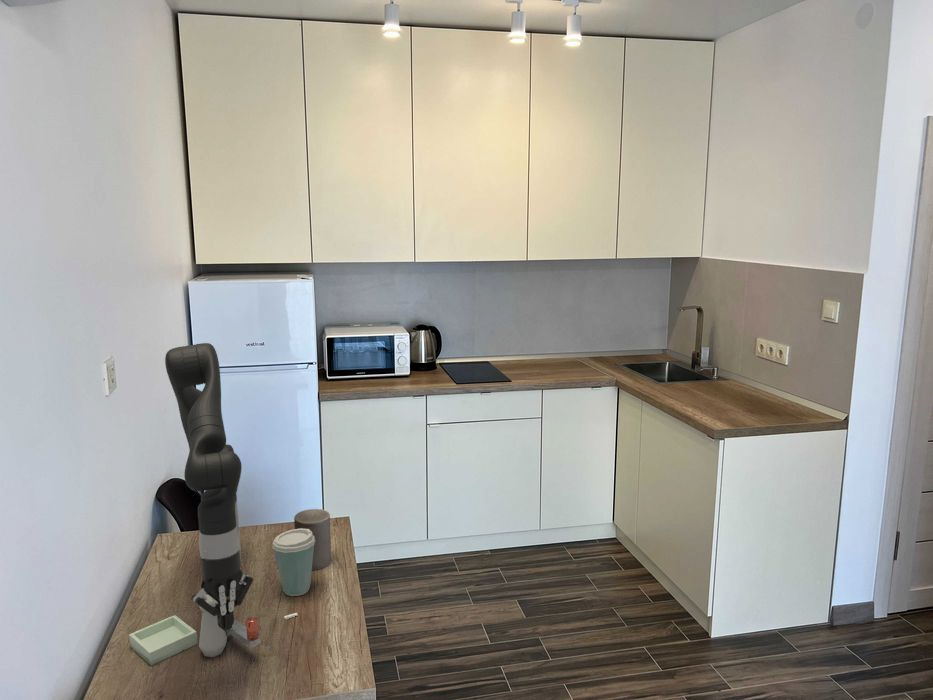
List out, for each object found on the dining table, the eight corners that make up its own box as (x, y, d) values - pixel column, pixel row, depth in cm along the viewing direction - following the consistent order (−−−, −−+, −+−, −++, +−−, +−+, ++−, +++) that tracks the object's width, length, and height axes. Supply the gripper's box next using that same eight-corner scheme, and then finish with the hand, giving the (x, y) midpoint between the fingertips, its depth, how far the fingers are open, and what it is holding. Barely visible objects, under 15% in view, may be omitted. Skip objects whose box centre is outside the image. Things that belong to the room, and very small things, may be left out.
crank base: (209, 637, 159) (209, 629, 159) (227, 628, 162) (226, 620, 162) (219, 644, 156) (218, 636, 156) (237, 636, 159) (236, 627, 159)
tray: (130, 646, 156) (129, 634, 155) (175, 626, 163) (174, 615, 163) (151, 665, 149) (149, 652, 148) (197, 643, 157) (196, 631, 156)
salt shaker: (218, 661, 150) (213, 605, 148) (194, 658, 151) (189, 602, 149) (232, 645, 156) (228, 591, 154) (209, 642, 157) (204, 589, 155)
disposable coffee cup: (276, 604, 173) (272, 547, 170) (273, 583, 183) (270, 529, 180) (320, 596, 176) (317, 540, 173) (315, 576, 186) (312, 523, 183)
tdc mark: (285, 619, 166) (285, 617, 166) (284, 618, 166) (284, 616, 166) (297, 616, 167) (297, 614, 167) (296, 614, 168) (296, 612, 168)
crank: (203, 621, 161) (200, 594, 160) (217, 615, 164) (215, 588, 163) (249, 655, 148) (247, 625, 147) (264, 648, 151) (262, 618, 150)
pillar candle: (289, 568, 191) (286, 516, 188) (306, 552, 200) (304, 502, 197) (322, 572, 188) (319, 520, 185) (338, 556, 197) (336, 506, 195)
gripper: (239, 533, 148) (245, 609, 151) (179, 555, 139) (186, 635, 142) (259, 543, 143) (264, 621, 146) (197, 566, 134) (204, 649, 137)
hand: (226, 628), depth 144 cm, fingers closed
